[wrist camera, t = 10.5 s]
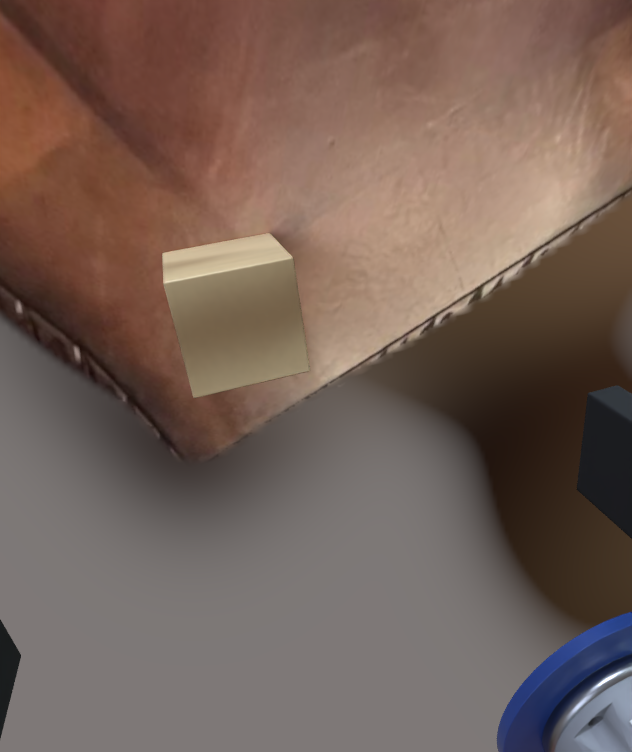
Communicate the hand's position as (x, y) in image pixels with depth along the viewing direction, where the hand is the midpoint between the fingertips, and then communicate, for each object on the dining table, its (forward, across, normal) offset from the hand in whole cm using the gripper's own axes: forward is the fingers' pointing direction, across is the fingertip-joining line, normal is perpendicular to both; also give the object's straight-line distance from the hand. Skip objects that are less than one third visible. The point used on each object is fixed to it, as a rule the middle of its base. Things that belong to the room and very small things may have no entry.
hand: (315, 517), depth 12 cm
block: (+17, 0, 0) cm, 17 cm away
